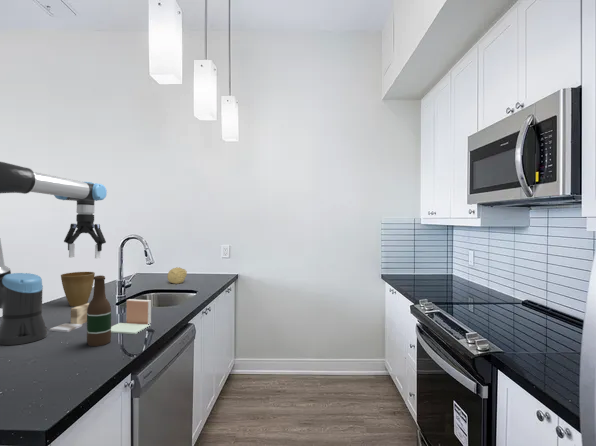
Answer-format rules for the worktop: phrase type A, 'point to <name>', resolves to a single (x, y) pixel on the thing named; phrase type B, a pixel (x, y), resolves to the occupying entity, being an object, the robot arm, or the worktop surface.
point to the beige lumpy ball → (176, 275)
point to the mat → (128, 328)
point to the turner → (74, 319)
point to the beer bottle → (99, 315)
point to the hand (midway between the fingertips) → (84, 257)
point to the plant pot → (77, 287)
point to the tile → (138, 311)
